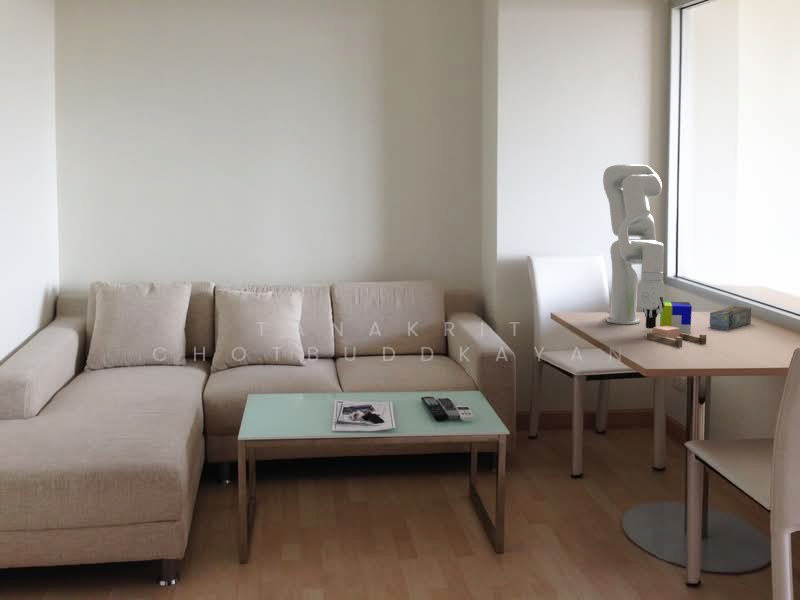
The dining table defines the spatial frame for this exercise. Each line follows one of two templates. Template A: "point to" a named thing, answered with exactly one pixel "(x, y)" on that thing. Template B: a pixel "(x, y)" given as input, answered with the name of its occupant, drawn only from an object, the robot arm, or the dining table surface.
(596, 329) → the dining table surface
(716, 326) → the beverage carton
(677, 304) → the puzzle toy
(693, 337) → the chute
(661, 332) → the block
